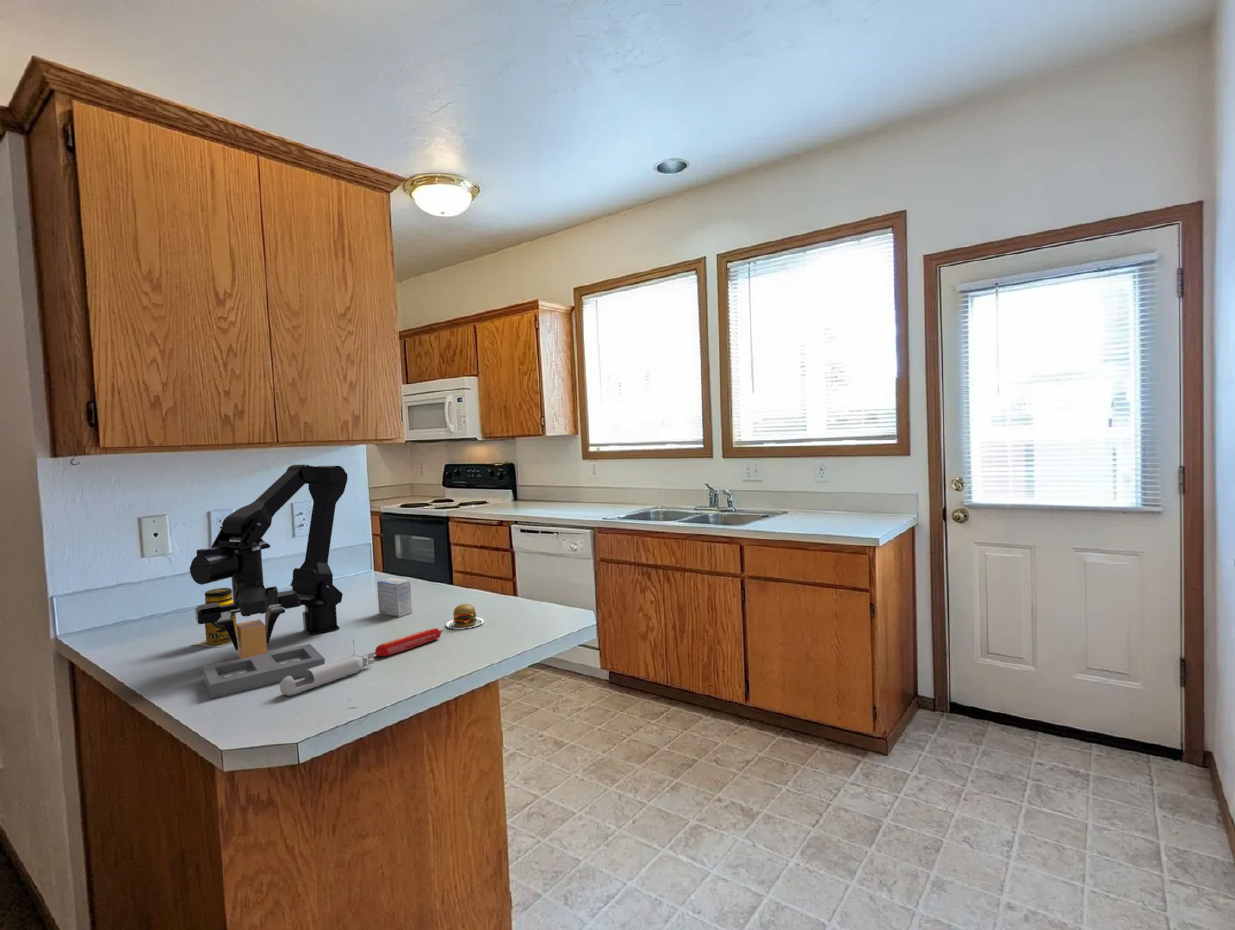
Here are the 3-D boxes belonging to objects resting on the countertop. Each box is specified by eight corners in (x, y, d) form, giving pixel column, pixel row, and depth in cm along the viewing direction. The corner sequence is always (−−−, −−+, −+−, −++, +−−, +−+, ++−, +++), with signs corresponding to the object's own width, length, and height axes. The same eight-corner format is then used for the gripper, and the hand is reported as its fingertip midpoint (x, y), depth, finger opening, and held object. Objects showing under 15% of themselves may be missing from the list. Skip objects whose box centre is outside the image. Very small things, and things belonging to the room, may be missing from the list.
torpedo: (288, 701, 111) (286, 665, 111) (275, 695, 114) (273, 659, 114) (380, 668, 126) (378, 636, 126) (366, 664, 129) (365, 632, 128)
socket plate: (310, 655, 135) (309, 643, 135) (325, 670, 125) (324, 658, 125) (203, 679, 123) (202, 666, 123) (211, 698, 114) (210, 684, 113)
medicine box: (412, 613, 164) (411, 579, 164) (398, 617, 161) (396, 583, 160) (392, 609, 169) (391, 577, 168) (378, 613, 165) (376, 580, 164)
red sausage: (434, 637, 145) (434, 624, 145) (445, 639, 143) (444, 626, 143) (370, 658, 132) (369, 644, 132) (380, 662, 130) (379, 647, 130)
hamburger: (474, 616, 161) (473, 595, 161) (500, 625, 153) (499, 603, 152) (430, 628, 153) (428, 605, 153) (455, 638, 144) (454, 614, 144)
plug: (259, 647, 141) (257, 616, 141) (267, 658, 134) (264, 625, 134) (236, 652, 138) (234, 620, 138) (243, 663, 131) (240, 629, 131)
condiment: (219, 647, 142) (215, 594, 141) (191, 645, 145) (187, 593, 144) (247, 637, 149) (244, 586, 148) (219, 635, 152) (216, 585, 151)
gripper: (198, 587, 122) (203, 668, 123) (304, 571, 134) (309, 645, 134) (192, 578, 131) (198, 653, 132) (292, 564, 142) (297, 633, 143)
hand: (252, 646), depth 135 cm, fingers open, 5 cm apart
